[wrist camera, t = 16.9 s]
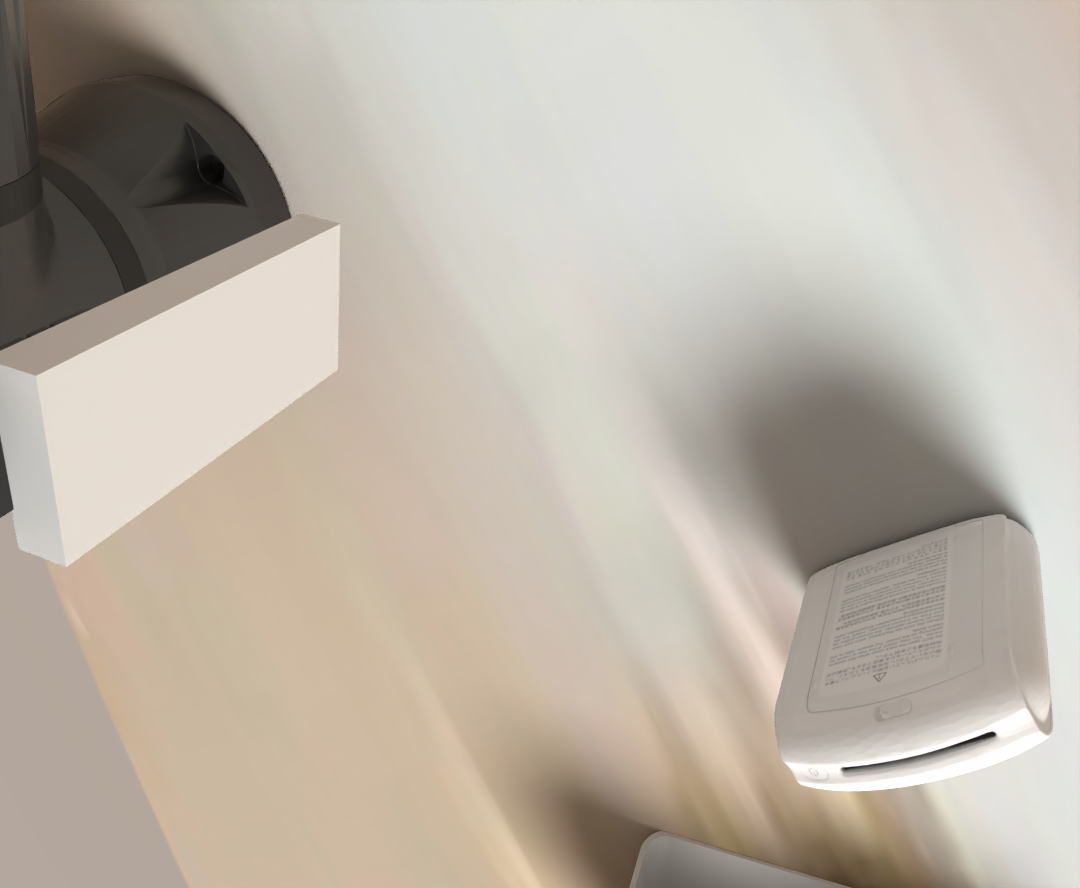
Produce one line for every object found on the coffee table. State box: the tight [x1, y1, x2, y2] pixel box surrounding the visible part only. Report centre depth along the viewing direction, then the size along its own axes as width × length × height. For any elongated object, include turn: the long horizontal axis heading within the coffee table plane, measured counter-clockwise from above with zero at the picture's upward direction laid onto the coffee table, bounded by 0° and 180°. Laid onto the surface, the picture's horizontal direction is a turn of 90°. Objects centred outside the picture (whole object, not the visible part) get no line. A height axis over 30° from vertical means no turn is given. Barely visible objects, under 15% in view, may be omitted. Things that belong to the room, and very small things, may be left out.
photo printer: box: [775, 514, 1053, 791], centre depth 40 cm, size 10×4×12 cm, turn 125°
